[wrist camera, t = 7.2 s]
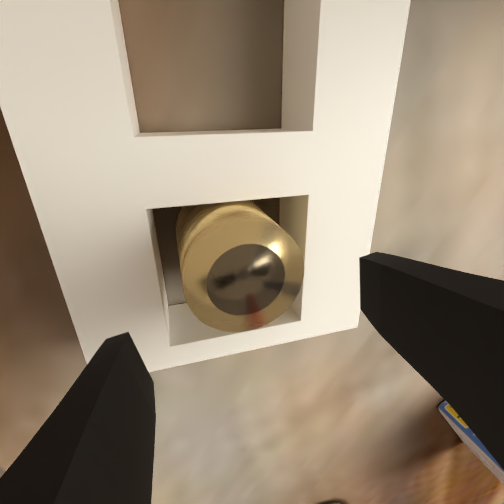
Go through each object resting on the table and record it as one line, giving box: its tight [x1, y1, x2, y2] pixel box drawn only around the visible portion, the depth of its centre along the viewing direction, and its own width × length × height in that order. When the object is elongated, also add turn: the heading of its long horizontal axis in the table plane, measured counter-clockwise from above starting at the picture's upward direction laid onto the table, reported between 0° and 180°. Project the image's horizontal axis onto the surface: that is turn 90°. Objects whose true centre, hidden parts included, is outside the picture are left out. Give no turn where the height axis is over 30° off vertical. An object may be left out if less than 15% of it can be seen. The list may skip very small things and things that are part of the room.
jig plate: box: [0, 0, 411, 372], centre depth 11 cm, size 12×16×3 cm
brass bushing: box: [176, 200, 304, 332], centre depth 12 cm, size 4×4×5 cm
